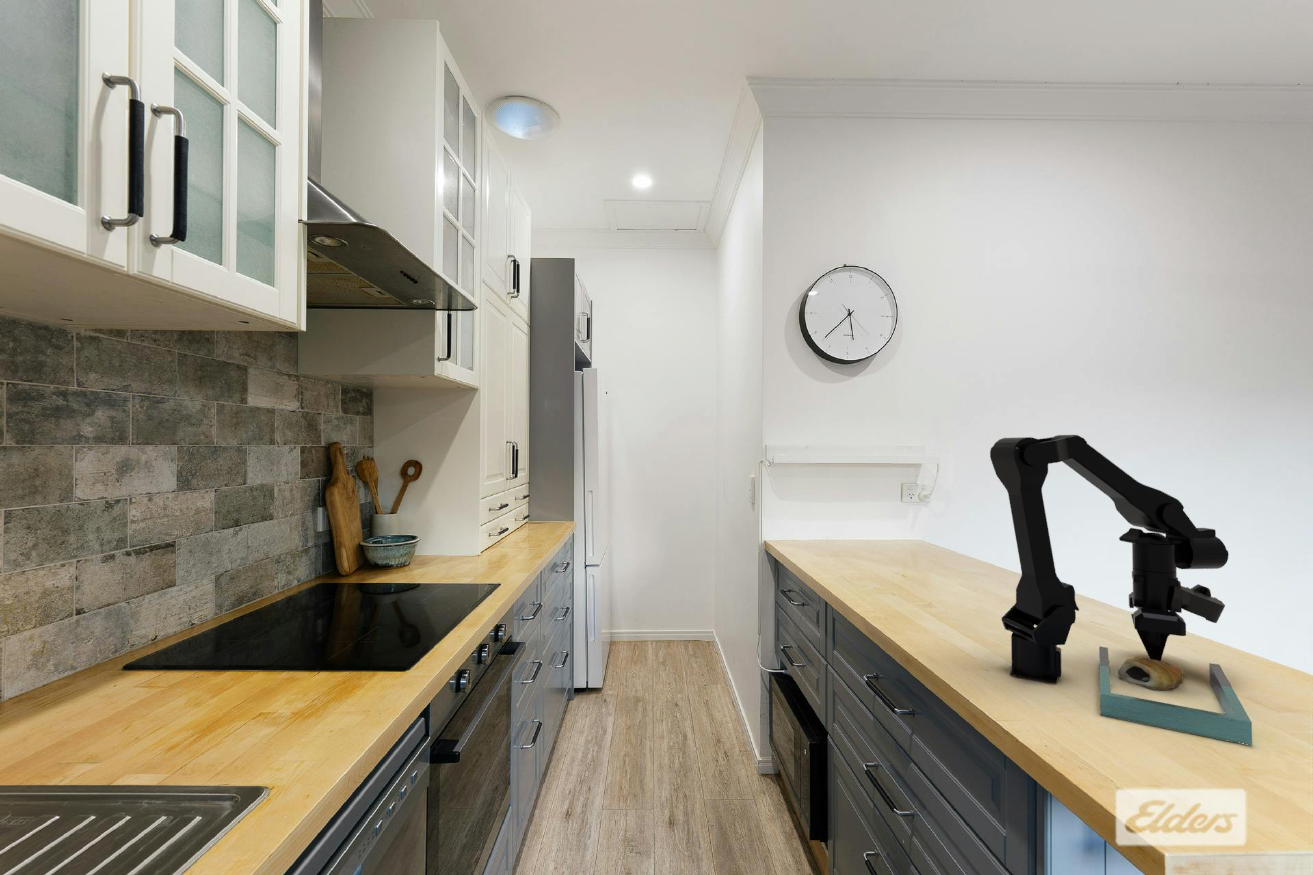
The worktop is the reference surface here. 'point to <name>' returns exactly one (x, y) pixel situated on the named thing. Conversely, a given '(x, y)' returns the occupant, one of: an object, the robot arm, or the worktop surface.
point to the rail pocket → (1180, 709)
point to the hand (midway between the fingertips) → (1155, 662)
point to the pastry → (1151, 673)
